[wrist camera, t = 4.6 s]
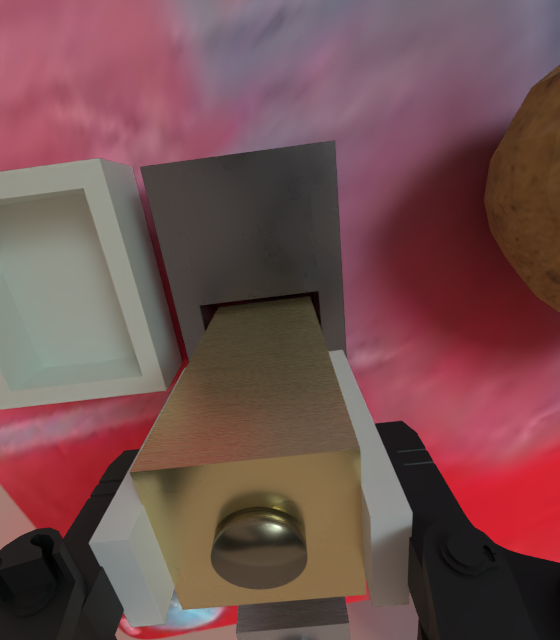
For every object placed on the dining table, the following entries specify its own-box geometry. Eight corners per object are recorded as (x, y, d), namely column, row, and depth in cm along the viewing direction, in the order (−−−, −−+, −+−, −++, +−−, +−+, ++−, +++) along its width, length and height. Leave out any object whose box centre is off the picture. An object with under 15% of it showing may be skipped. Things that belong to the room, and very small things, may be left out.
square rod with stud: (252, 449, 22) (234, 646, 12) (317, 442, 22) (351, 636, 12) (262, 496, 24) (252, 705, 14) (322, 490, 23) (356, 696, 14)
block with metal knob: (218, 307, 16) (119, 489, 6) (310, 296, 15) (365, 465, 6) (234, 385, 17) (178, 630, 7) (317, 376, 17) (370, 614, 7)
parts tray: (-44, 190, 16) (-115, 187, 13) (132, 166, 16) (99, 158, 13) (41, 379, 20) (0, 409, 17) (182, 362, 19) (166, 390, 17)
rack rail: (164, 173, 16) (140, 167, 13) (324, 151, 16) (334, 140, 13) (242, 516, 24) (238, 557, 21) (347, 505, 24) (356, 546, 21)
